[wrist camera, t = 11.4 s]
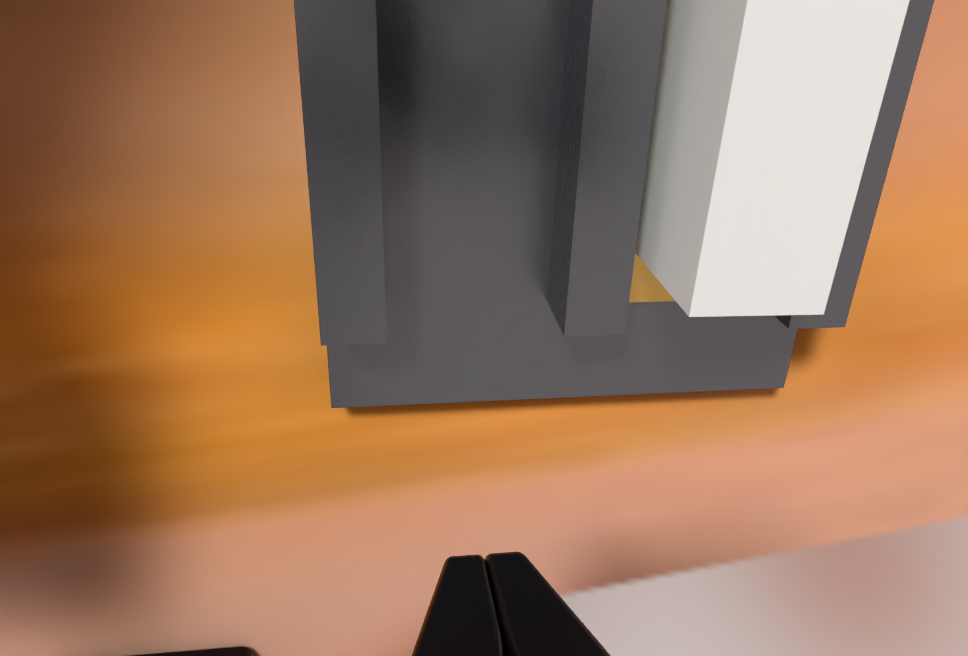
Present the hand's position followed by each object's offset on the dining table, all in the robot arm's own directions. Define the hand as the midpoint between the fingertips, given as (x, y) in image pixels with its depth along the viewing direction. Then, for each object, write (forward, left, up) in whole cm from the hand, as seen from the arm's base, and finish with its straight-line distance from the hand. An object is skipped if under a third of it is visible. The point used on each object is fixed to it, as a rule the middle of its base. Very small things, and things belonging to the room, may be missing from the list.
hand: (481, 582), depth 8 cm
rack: (+3, -4, -12) cm, 13 cm away
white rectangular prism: (+3, -7, -11) cm, 14 cm away
